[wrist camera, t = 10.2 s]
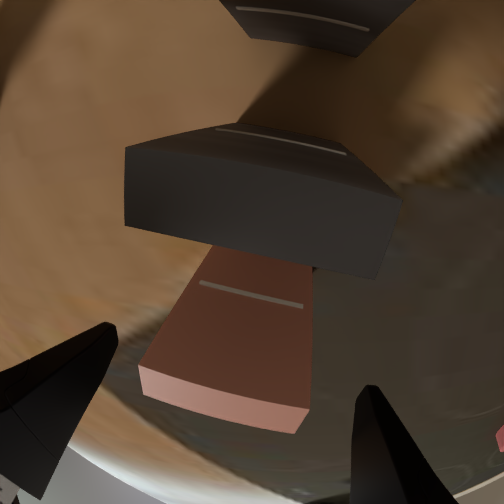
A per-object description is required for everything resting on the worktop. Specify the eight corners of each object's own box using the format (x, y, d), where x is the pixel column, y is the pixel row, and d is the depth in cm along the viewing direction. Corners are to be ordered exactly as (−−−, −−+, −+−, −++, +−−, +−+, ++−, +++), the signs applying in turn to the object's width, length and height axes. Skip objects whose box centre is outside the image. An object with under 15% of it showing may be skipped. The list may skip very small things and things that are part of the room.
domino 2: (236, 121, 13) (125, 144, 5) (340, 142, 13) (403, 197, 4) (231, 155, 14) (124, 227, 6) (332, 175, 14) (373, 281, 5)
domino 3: (220, 232, 16) (138, 364, 8) (312, 253, 16) (310, 408, 7) (217, 260, 17) (143, 395, 8) (304, 280, 16) (293, 434, 8)
